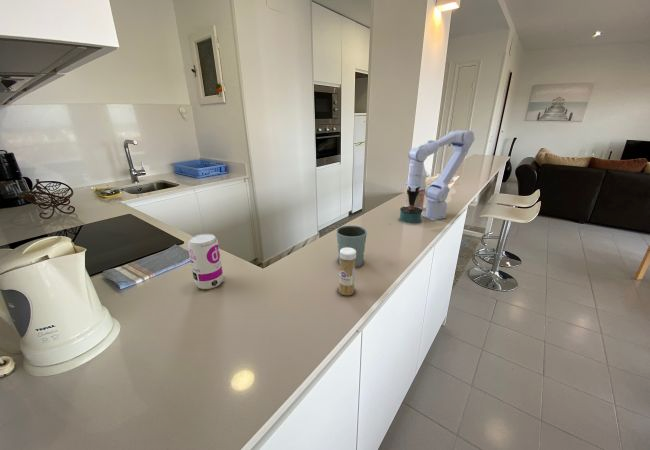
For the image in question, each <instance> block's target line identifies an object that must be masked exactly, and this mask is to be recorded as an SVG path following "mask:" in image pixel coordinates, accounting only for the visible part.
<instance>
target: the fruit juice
mask: <svg viewBox="0 0 650 450" xmlns="http://www.w3.org/2000/svg"><path fill="white" fill-rule="evenodd" d="M424 162H425V161H423V169H422V177H421V186H420V188H419V190H418V191H420V192H419V194H418V195H417V197H416V200H415V204H414V207H417V208H420V209H422V210H423V208H424V201H425V196H426V195H425V191H426V188H427V184H426V179H427V177H428V173H427V171H426V168H425V163H424ZM406 186H407V187H406V190H407V189H408V190H409V188H408V185H406ZM405 206H409V197H408V193H407V192H406V195H405V203H404V207H405Z"/></svg>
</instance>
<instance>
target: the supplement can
mask: <svg viewBox="0 0 650 450" xmlns="http://www.w3.org/2000/svg"><path fill="white" fill-rule="evenodd" d="M187 251H188V258H189V262H190V266H191V271H192V277H193V281H194V286H196V287H197V288H199V289H200V290H211V289H214V288H216V287H218V286H220V285H221V284H222V282H223V281H224V274H223V273H224V271H223V266H222V265H223V264H222V259H221V253H220V247H219V240H218V239H217V237H216V236H215V234H212V233H199V234H196V235H193V236H191V237H190V238H189V239H188V243H187Z"/></svg>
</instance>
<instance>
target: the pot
mask: <svg viewBox="0 0 650 450" xmlns="http://www.w3.org/2000/svg"><path fill="white" fill-rule="evenodd" d="M399 211H400V213H399V221H401V222H403V223H406V224H418V223H420V222H421V219H422V213H419V214H409V213H404V212H402V211H401V210H399Z"/></svg>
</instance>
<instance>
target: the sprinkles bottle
mask: <svg viewBox="0 0 650 450" xmlns="http://www.w3.org/2000/svg"><path fill="white" fill-rule="evenodd" d="M355 259H356V250H355V249H353V248H342V249H341V250H340V263H339V275H338V277H339V278H338V281H339V286H338V293H340V295H343V296H351V295H353V294H354V292H355V279H356V278H355V277H356V276H355V275H356V267H355Z"/></svg>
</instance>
